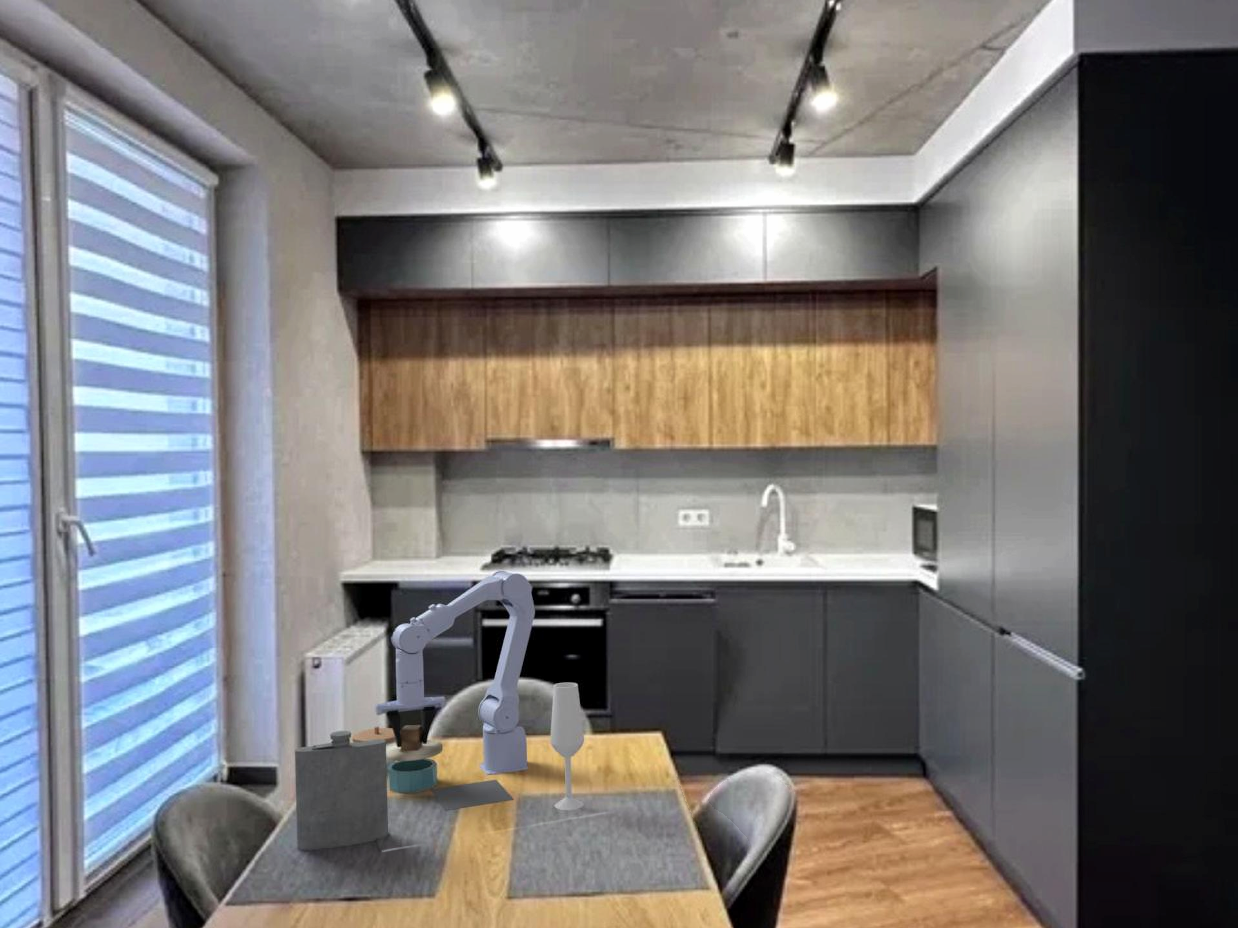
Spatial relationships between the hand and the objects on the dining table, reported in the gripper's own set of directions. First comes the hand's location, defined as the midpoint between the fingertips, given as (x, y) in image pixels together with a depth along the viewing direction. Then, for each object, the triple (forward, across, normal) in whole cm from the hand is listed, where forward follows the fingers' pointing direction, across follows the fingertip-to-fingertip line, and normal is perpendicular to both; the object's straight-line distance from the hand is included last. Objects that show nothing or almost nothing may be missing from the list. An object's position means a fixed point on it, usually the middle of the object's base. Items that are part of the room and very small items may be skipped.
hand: (411, 744), depth 203 cm
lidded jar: (+9, +5, -17) cm, 20 cm away
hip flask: (+9, +17, +26) cm, 32 cm away
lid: (+2, 0, 0) cm, 2 cm away
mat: (+9, -10, +12) cm, 18 cm away
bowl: (+9, 0, 0) cm, 9 cm away
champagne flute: (+9, -26, +27) cm, 39 cm away
